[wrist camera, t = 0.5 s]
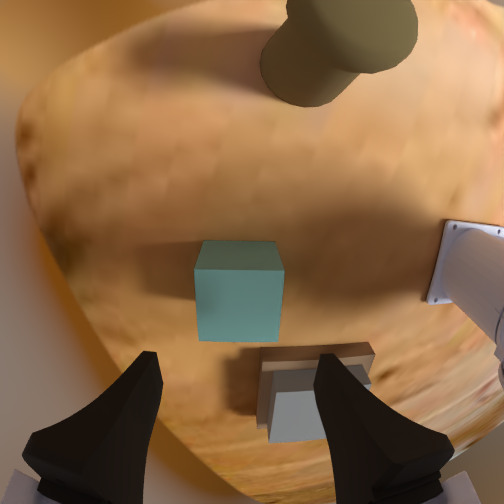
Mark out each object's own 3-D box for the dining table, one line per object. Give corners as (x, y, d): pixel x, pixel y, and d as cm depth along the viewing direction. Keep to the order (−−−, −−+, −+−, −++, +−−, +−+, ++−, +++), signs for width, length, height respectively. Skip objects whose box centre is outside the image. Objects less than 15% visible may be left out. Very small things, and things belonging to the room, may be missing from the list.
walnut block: (365, 337, 25) (375, 354, 23) (343, 404, 29) (348, 420, 26) (260, 343, 25) (262, 361, 22) (255, 411, 28) (257, 428, 26)
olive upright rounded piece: (313, 125, 18) (395, 111, 8) (241, 71, 16) (242, -6, 6) (362, 67, 16) (461, 21, 6) (294, 14, 15) (341, -77, 4)
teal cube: (274, 241, 21) (284, 270, 16) (270, 302, 23) (277, 341, 18) (204, 239, 21) (194, 269, 16) (206, 301, 22) (198, 340, 18)
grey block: (362, 364, 23) (371, 383, 21) (342, 417, 26) (347, 435, 24) (273, 370, 23) (276, 392, 20) (267, 423, 26) (268, 443, 23)
